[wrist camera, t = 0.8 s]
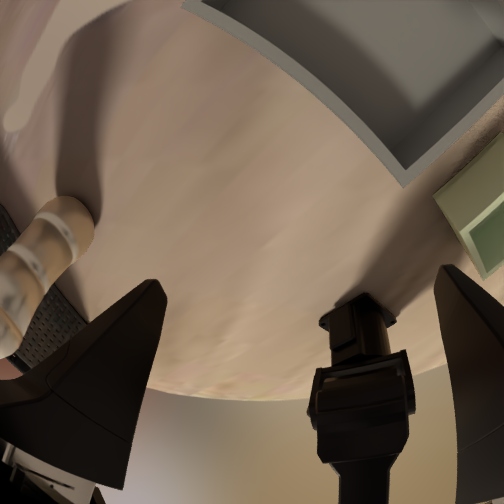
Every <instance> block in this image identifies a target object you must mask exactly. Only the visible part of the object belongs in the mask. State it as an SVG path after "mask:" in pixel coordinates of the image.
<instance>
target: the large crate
mask: <svg viewBox="0 0 504 504" xmlns="http://www.w3.org/2000/svg"><path fill="white" fill-rule="evenodd" d="M181 8H183V9H185V10H187V11H189V12H191V13H193V14H195V15H197V16H199V17H201V18H203V19H205V20H206V21H208V22H210V23H212V24H214V25H215V26H217V27H219V28H221V29H222V30H224V31H226V32H227V33H229V34H231V35H232V36H234V37H236V38H237V39H239V40H240V41H242V42H244V43H245V44H247V45H248V46H250V47H251V48H253V49H254V50H256V51H257V52H259V53H260V54H261V55H263V56H264V57H266V58H267V59H269V60H270V61H271V62H273V63H274V64H275V65H277V66H278V67H279V68H281V69H282V70H283V71H285V72H286V73H287V74H289V75H290V76H291V77H292V78H294V79H295V80H296V81H297V82H299V83H300V84H301V85H302V86H304V87H305V88H306V89H307V90H308V91H310V92H311V93H312V94H313V95H314V96H315V97H317V98H318V99H319V100H320V101H321V102H322V103H323V104H324V105H326V106H327V107H328V108H329V109H330V110H331V111H332V112H333V113H334V114H335V115H336V116H337V117H339V118H340V119H341V120H342V121H343V122H344V123H345V124H346V125H347V126H348V127H349V128H350V129H351V130H352V131H353V132H354V133H355V134H356V135H357V136H358V137H359V138H360V139H361V140H362V142H363V143H364V144H365V145H366V146H367V147H368V148H369V149H370V150H371V151H372V152H373V153H374V154H375V156H376V157H377V158H378V159H379V160H380V161H381V162H382V163H383V165H384V166H385V167H386V168H387V169H388V170H389V172H390V173H391V174H392V175H393V176H394V178H395V179H396V180H397V181H398V183H399V184H400V185H401V186H402V188H404V187H405V186H407V185H408V184H409V183H410V182H411V181H412V180H413V179H415V178H416V177H417V176H418V175H419V174H420V173H421V172H423V171H424V170H425V169H426V168H427V167H428V166H429V165H430V164H432V163H433V162H434V161H435V160H436V159H437V158H438V157H439V156H440V155H442V154H443V153H444V152H445V151H446V150H447V149H448V148H449V147H450V146H451V145H452V144H454V143H455V142H456V141H457V140H458V139H459V138H460V137H461V136H462V135H463V134H464V133H465V132H466V131H467V130H468V129H469V128H470V127H471V126H473V125H474V124H475V123H476V122H477V121H478V120H479V119H480V118H481V117H482V116H483V115H484V114H485V113H486V112H487V111H488V110H489V109H490V108H491V107H492V106H493V105H494V104H495V103H496V102H497V101H498V100H499V99H500V98H501V97H502V95H503V94H504V0H186V1H185V2H184V3H183V4H182V6H181Z"/></svg>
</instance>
